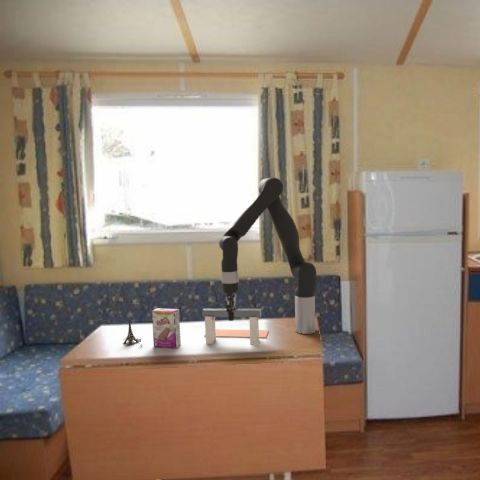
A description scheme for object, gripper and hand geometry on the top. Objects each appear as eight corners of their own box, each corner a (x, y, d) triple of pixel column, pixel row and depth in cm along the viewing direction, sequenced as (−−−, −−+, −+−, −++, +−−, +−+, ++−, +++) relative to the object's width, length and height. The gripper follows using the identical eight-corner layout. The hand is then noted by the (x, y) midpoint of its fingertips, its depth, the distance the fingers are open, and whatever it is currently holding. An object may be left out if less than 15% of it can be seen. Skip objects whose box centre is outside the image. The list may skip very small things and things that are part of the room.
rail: (261, 315, 181) (260, 308, 181) (260, 317, 178) (260, 310, 178) (204, 315, 186) (204, 308, 185) (202, 316, 183) (202, 310, 182)
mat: (268, 331, 195) (268, 330, 195) (266, 338, 186) (266, 337, 186) (209, 330, 201) (209, 329, 201) (204, 336, 191) (204, 335, 191)
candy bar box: (153, 347, 180) (151, 310, 178) (158, 343, 184) (156, 307, 183) (176, 348, 176) (174, 311, 175) (181, 344, 181) (179, 308, 180)
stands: (259, 339, 184) (258, 313, 183) (257, 344, 178) (256, 317, 177) (209, 338, 188) (208, 313, 187) (205, 343, 182) (204, 317, 181)
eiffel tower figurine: (142, 349, 179) (140, 319, 178) (118, 351, 178) (116, 321, 176) (144, 338, 194) (142, 310, 193) (122, 340, 192) (120, 312, 191)
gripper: (235, 284, 173) (237, 324, 174) (241, 277, 186) (242, 314, 188) (218, 284, 174) (220, 323, 176) (225, 278, 188) (227, 314, 189)
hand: (232, 319), depth 182 cm, fingers closed on rail, 3 cm apart
